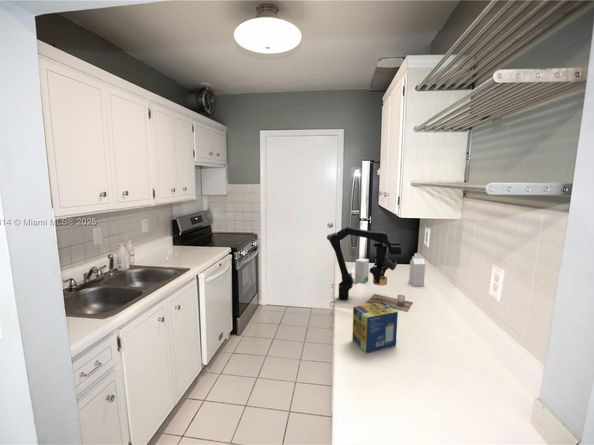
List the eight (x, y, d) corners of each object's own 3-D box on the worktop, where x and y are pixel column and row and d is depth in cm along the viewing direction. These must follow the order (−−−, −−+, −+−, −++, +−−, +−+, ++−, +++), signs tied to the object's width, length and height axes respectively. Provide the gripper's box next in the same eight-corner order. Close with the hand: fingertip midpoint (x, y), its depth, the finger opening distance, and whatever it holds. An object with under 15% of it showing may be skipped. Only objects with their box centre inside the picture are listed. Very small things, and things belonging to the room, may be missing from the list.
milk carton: (423, 286, 192) (425, 258, 189) (412, 286, 192) (414, 257, 189) (419, 282, 199) (421, 255, 196) (408, 282, 199) (410, 255, 196)
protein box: (351, 340, 129) (352, 306, 127) (381, 333, 134) (382, 301, 132) (365, 353, 119) (366, 317, 117) (396, 346, 125) (398, 311, 122)
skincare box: (363, 285, 195) (364, 262, 192) (354, 282, 199) (354, 260, 196) (368, 281, 201) (369, 259, 199) (359, 279, 205) (360, 257, 203)
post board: (407, 314, 153) (408, 302, 152) (366, 304, 164) (366, 293, 163) (413, 304, 164) (413, 293, 163) (374, 296, 176) (374, 285, 175)
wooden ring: (384, 286, 161) (384, 280, 160) (371, 283, 165) (371, 277, 164) (388, 282, 167) (388, 276, 166) (375, 280, 171) (375, 274, 170)
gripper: (391, 260, 151) (389, 289, 154) (400, 252, 167) (398, 279, 169) (369, 257, 157) (368, 285, 160) (380, 250, 173) (379, 276, 175)
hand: (379, 281), depth 166 cm, fingers closed on wooden ring, 7 cm apart
